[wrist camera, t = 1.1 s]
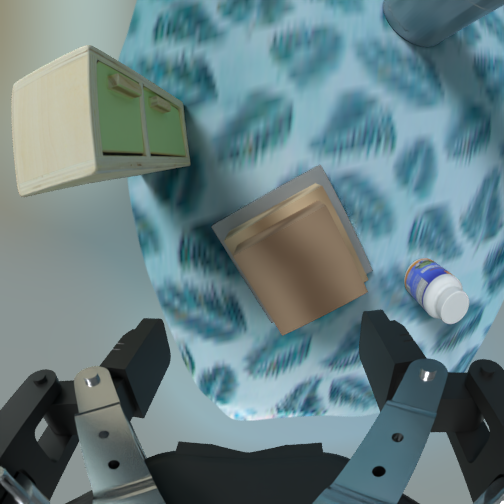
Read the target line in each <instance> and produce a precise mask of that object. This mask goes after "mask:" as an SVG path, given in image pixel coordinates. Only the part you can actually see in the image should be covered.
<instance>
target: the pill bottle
mask: <svg viewBox="0 0 504 504" xmlns="http://www.w3.org/2000/svg"><path fill="white" fill-rule="evenodd" d="M404 284H405V287H406V290H407V291H408V292H409V293H410V294H411V296H412V297H413V298H414V299H415V300H416V301H417V302H418V303H419V304H420V305H421V306H422V307H423V309H424V310H425V311H426V312H427V313H428V314H429V315H430V316H432V317H433V318H437V319H441V320H442V321H443V322H445V323H446V324H454V323H456V322H458V321H459V320H461V319H462V318H463V317H464V315H465V314H466V312H467V310H468V307H469V298H468V295H467V294H466V293H465V292H464V291H463V289H462V285H461V283H460V281H459V280H458V279H457V278H456V277H455V276H454V275H452V274H451V273H449V272H448V271H447V270H445V269H444V268H442V267H441V266H440V265H438V264H437V263H435V262H434V261H432V260H431V259H428V258H421V259H418V260H416V261H414V262H413V263H412V264H411V265H410V266H409V267H408V269H407V271H406V274H405V278H404Z"/></svg>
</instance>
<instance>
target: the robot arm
mask: <svg viewBox="0 0 504 504" xmlns="http://www.w3.org/2000/svg"><path fill="white" fill-rule="evenodd" d="M503 5H504V0H384V4H383V9H384V14H385V16H386V19H387V20H388V22H389V24H390V25H391V26H392V28H393V29H394V30H395V31H396V32H397V33H398V34H399V35H400V36H402V37H403V38H404V39H406V40H407V41H409V42H411V43H413V44H416V45H419V46H423V47H431V46H434V45H437V44H438V43H440V42H441V41H443V40H445V39H446V38H448V37H450V36H451V35H453V34H455V33H456V32H458V31H459V30H461V29H463V28H464V27H466V26H468V25H470V24H471V23H473V22H475V21H476V20H478V19H480V18H482V17H483V16H485V15H487V14H489V13H490V12H492V11H494V10H496V9H497V8H499V7H501V6H503ZM359 355H360V359H361V362H362V365H363V367H364V370H365V372H366V375H367V377H368V380H369V383H370V385H371V388H372V391H373V393H374V396H375V399H376V401H377V404H378V407H379V409H380V414H379V416H378V417H377V419H376V421H375V422H374V424H373V426H372V427H371V429H370V430H369V432H368V434H367V435H366V437H365V438H364V440H363V441H362V443H361V444H360V446H359V447H358V449H357V450H356V452H355V453H354V455H353V456H352V458H351V459H349V458H346V457H344V456H340V455H337V454H331V453H325V452H323V449H322V443H312V444H297V445H284V446H280V447H275V448H271V449H266V450H261V451H256V452H250V453H246V452H241V451H236V450H232V449H228V448H224V447H220V446H216V445H213V444H200V443H189V442H178V446H177V449H176V451H171V452H165V453H161V454H157V455H155V456H152V457H149V458H147V457H146V455H145V453H144V451H143V449H142V446H141V444H140V442H139V440H138V438H137V436H136V433H135V431H134V429H133V426H132V424H131V422H130V421H131V419H132V417H139V418H144V417H145V415H146V413H147V411H148V408H149V406H150V404H151V402H152V400H153V398H154V396H155V394H156V392H157V389H158V387H159V385H160V383H161V381H162V379H163V377H164V375H165V372H166V370H167V368H168V366H169V364H170V357H171V355H170V348H169V344H168V341H167V336H166V331H165V327H164V323H163V321H162V319H148V318H144V319H143V320H142V321H141V322H140V323H139V325H138V326H137V328H136V329H132V330H131V331H129V332H128V333H126V334H125V335H123V337H122V338H121V339H120V340H119V342H118V344H116V345H115V347H114V349H113V350H112V351H111V352H110V353H109V355H108V356H107V357H106V358H105V360H104V361H103V362H102V364H101V365H100V366H94V367H89V368H86V369H84V370H82V371H81V372H79V373H78V374H77V375H76V377H75V378H74V381H58V378H57V376H56V374H55V373H54V372H53V371H51V370H40V371H37V372H35V373H33V374H31V375H30V376H29V377H28V378H27V379H26V380H25V381H24V383H23V384H22V385H21V386H20V387H19V389H18V390H17V391H16V392H15V393H14V395H13V396H12V397H11V398H10V399H9V400H8V402H7V403H6V404H5V405H4V407H3V408H2V409H1V410H0V504H50V502H49V501H50V499H51V497H52V495H53V492H54V490H55V488H56V486H57V484H58V482H59V480H60V478H61V476H62V474H63V472H64V470H65V468H66V466H67V464H68V462H69V460H70V458H71V456H72V454H73V452H74V450H75V448H76V446H77V444H78V442H80V446H81V451H82V455H83V459H84V462H85V466H86V470H87V473H88V478H89V481H90V484H91V488H92V490H91V491H89V492H87V493H86V494H84V495H82V496H80V497H78V498H76V499H74V500H72V501H70V502H68V503H66V504H419V503H417V502H416V501H414V500H413V499H411V498H410V497H408V496H406V495H404V494H403V492H404V490H405V488H406V486H407V484H408V482H409V480H410V478H411V476H412V473H413V471H414V469H415V467H416V465H417V463H418V460H419V458H420V456H421V453H422V451H423V449H424V446H425V444H426V441H427V439H428V436H429V434H430V432H446V433H447V435H448V437H449V440H450V442H451V444H452V447H453V449H454V452H455V455H456V457H457V460H458V462H459V465H460V467H461V470H462V473H463V475H464V478H465V481H466V483H467V486H468V489H469V492H470V495H471V498H472V501H473V504H504V370H503V369H502V367H501V366H500V365H499V364H497V363H496V362H493V361H491V360H485V359H482V360H477V361H474V362H473V363H472V364H471V365H470V367H469V370H468V373H450V372H448V371H447V368H446V367H445V366H444V365H443V364H442V363H441V362H439V361H437V360H433V359H427V358H426V357H425V355H424V354H423V352H422V351H421V350H420V348H419V347H418V345H417V344H416V342H415V341H413V338H412V337H411V335H409V332H408V331H407V330H406V328H405V327H404V326H403V325H401V324H400V323H398V322H397V321H395V320H393V321H390V320H389V319H388V317H387V316H386V314H385V313H384V311H383V310H373V311H364V312H363V315H362V323H361V333H360V342H359ZM43 417H44V419H45V421H46V422H47V424H48V427H47V428H46V430H45V431H44V433H43V434H42V436H41V437H40V439H39V441H38V442H37V441H36V439H35V429H36V427H37V425H38V424H39V422H40V421H41V419H42V418H43ZM484 419H485V420H486V422H487V424H488V426H489V429H490V432H489V430H488V428H487V426H486V425H485V423H484V421H483V420H484Z"/></svg>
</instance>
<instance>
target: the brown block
mask: <svg viewBox="0 0 504 504" xmlns="http://www.w3.org/2000/svg"><path fill="white" fill-rule="evenodd" d="M224 243H225V244H226V246H227V247H228V249H229V251H230V252H231V254H232V255H233V258H234V259H235V261H236V262H237V264H238V266H239V267H240V269H241V271H242V272H243V274H244V275H245V277H246V279H247V280H248V282H249V283H250V285H251V287H252V288H253V290H254V291H255V293H256V294H257V296H258V298H259V299H260V301H261V302H262V304H263V306H264V307H265V309H266V310H267V312H268V314H269V315H270V317H271V318H272V320H273V321H274V323H275V325H276V326H277V328H278V329H279V331H280V332H281V334H282V336H283V335H285V334H287V333H289V332H291V331H293V330H295V329H298V328H300V327H302V326H304V325H306V324H308V323H310V322H312V321H314V320H316V319H318V318H320V317H322V316H324V315H326V314H328V313H330V312H331V311H333V310H335V309H337V308H339V307H341V306H343V305H345V304H347V303H349V302H350V301H352V300H354V299H356V298H358V297H360V296H361V295H363V294H365V293H367V292H368V291H367V289H366V287H365V284H364V282H366V281H368V278H367V275H366V273H365V271H364V269H363V267H362V264H361V262H360V260H359V258H358V256H357V254H356V251H355V249H354V247H353V245H352V243H351V241H350V239H349V237H348V235H347V233H346V231H345V229H344V227H343V225H342V223H341V221H340V219H339V217H338V215H337V213H336V211H335V209H334V207H333V205H332V203H331V201H330V199H329V197H328V195H327V193H326V192H325V190H324V188H323V186H321V185H319V184H316V183H315V184H313V185H311V186H309V187H308V188H306V189H304V190H302V191H300V192H298V193H297V194H295V195H293V196H291V197H289V198H288V199H286V200H284V201H282V202H280V203H279V204H277V205H275V206H273V207H271V208H270V209H268V210H266V211H264V212H262V213H261V214H259V215H257V216H255V217H254V218H252V219H250V220H248V221H247V222H245V223H243V224H241V225H240V226H238V227H236V228H234V229H233V230H231V231H229V233H228V234H227V236H226V238H225V240H224Z"/></svg>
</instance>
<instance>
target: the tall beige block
mask: <svg viewBox="0 0 504 504" xmlns="http://www.w3.org/2000/svg"><path fill="white" fill-rule="evenodd" d="M11 106H12V108H11V109H12V135H13V150H14V162H15V171H16V179H17V186H18V191H19V194H20V196H21V197H27V196H32V195H36V194H40V193H44V192H50V191H54V190H59V189H63V188H68V187H73V186H78V185H83V184H89V183H95V182H101V181H106V180H112V179H118V178H125V177H131V176H138V175H143V174H148V173H153V172H158V171H163V170H168V169H174V168H180V167H185V166H190V156H189V148H188V140H187V132H186V124H185V116H184V107H183V103H182V102H181V101H180V100H178V99H177V98H175V97H174V96H172V95H171V94H169V93H167V92H166V91H164V90H163V89H161V88H160V87H158V86H157V85H155V84H154V83H152V82H151V81H149V80H148V79H146V78H145V77H143V76H141V75H140V74H138V73H137V72H135V71H134V70H132V69H130V68H129V67H127V66H126V65H124V64H122V63H120V62H119V61H117V60H115V59H114V58H112V57H110V56H109V55H107V54H106V53H104V52H102V51H100V50H99V49H97V48H95V47H93V46H90V45H87V46H83V47H81V48H78V49H76V50H74V51H72V52H70V53H68V54H65V55H64V56H61V57H60V58H58V59H56V60H54V61H52V62H50V63H48V64H46V65H44V66H42V67H41V68H39V69H37V70H36V71H34V72H32V73H30V74H29V75H27V76H25V77H23V78H22V79H20V80H19V81H17V82H16V83H15V84H14V85H13V90H12V103H11Z"/></svg>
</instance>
